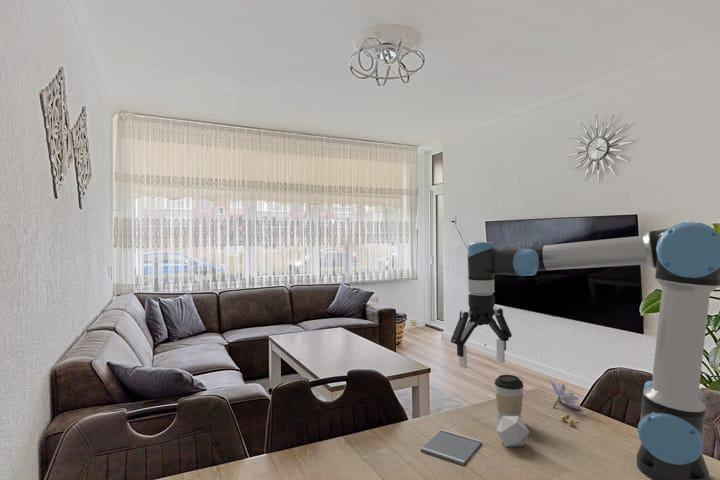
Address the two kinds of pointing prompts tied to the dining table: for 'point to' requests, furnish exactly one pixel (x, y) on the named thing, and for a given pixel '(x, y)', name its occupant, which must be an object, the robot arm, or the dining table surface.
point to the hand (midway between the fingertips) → (482, 364)
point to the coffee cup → (508, 396)
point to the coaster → (452, 446)
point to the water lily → (560, 394)
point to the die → (512, 431)
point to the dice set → (570, 421)
